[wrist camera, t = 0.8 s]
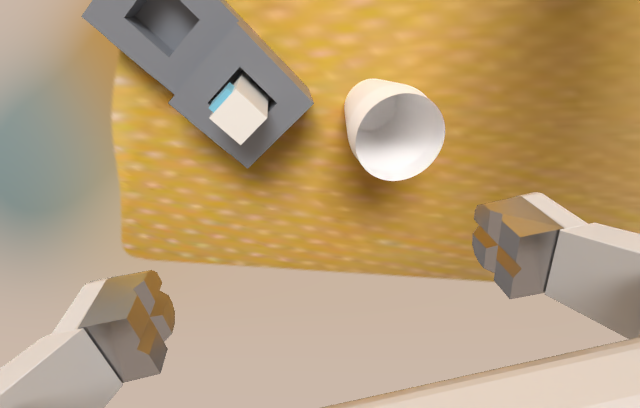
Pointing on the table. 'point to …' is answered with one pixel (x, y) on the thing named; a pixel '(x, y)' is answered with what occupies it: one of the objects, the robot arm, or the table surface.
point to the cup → (392, 128)
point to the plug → (240, 108)
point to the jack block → (203, 62)
